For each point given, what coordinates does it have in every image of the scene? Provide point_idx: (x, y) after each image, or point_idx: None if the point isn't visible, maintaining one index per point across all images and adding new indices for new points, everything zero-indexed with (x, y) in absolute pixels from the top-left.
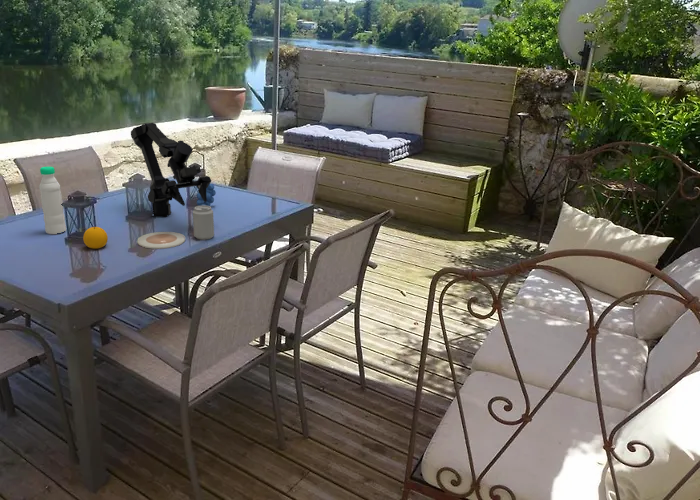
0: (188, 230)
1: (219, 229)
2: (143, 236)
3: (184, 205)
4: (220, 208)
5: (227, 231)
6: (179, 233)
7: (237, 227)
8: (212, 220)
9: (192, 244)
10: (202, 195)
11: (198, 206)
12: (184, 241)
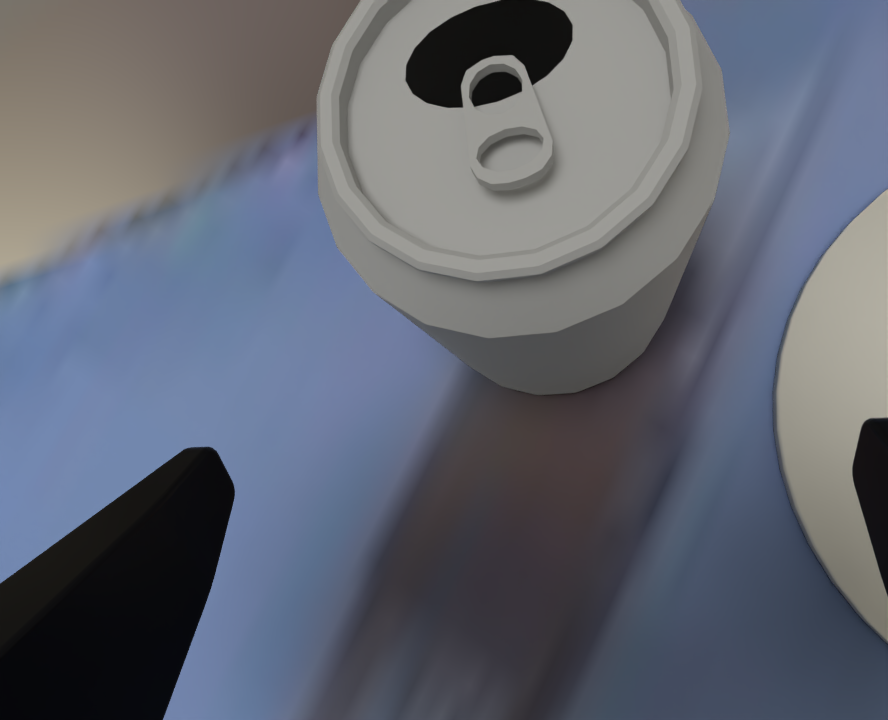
0: (601, 629)
1: (282, 445)
2: None
3: (855, 454)
4: None
5: (251, 336)
6: (800, 504)
7: (107, 401)
8: (432, 91)
9: (779, 121)
10: (119, 685)
11: (527, 248)
12: (835, 239)
